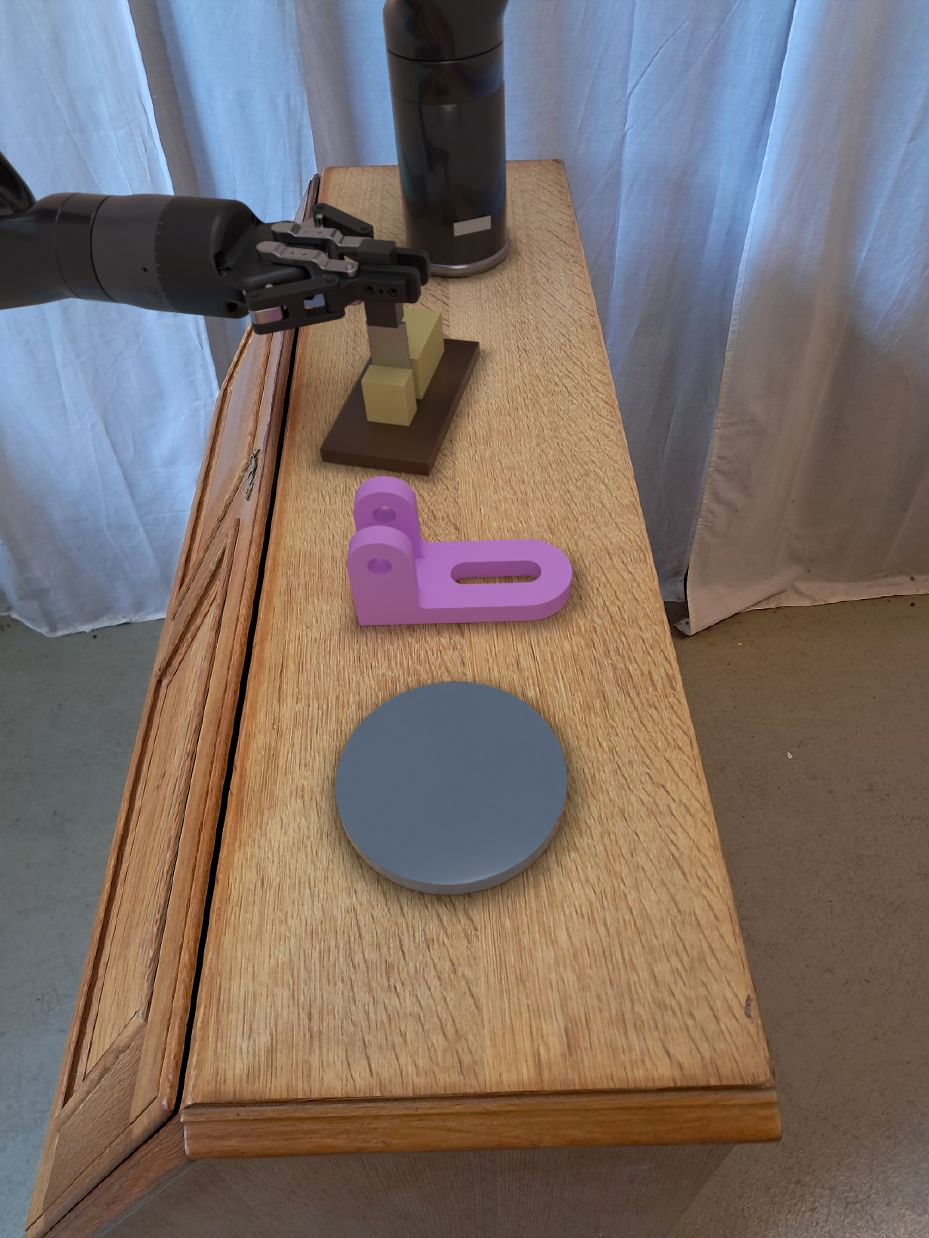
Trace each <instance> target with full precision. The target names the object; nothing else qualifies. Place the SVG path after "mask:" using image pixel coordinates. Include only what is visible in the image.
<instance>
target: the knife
mask: <svg viewBox="0 0 929 1238" xmlns="http://www.w3.org/2000/svg"><path fill="white" fill-rule="evenodd" d="M396 247H397V242H396V240H389V239H379V238H378V239H377V238H374V239H365V238H364V239H363V240H362V242H361V243H360V245H359V246H358V248H357V250H356V254H357V261H358V265H359V269H360V268H361V266H362V264H363V263H373V264H384V265H398V257H397V249H396ZM363 306H364V313H365V324H366V332H367V338H368V346H369V351H370V352H369V353H370V357H371V359H372V365H378V366H387V367H396V368H405V369H411V361H410V352H409V343H408V334H407V326H406V322H405V321H402V319H403V317H404V310H403V307H404V303H392V302H385V301H384V302H381V301H370V300H364V301H363Z"/></svg>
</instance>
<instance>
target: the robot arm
mask: <svg viewBox="0 0 929 1238" xmlns="http://www.w3.org/2000/svg"><path fill="white" fill-rule="evenodd" d="M509 2H510V0H385V2H384V4H383V8H382V26H383V28H382V29H383V36H384V44H385V54H386V61H387V62H386V63H387V64H386V65H387V74H388V83H389V91H390V100H391V109H392V111H391V112H392V119H393V121H392V122H393V130H394V138H395V146H396V147H395V149H396V158H397V168H398V178H399V187H400V196H401V197H400V198H401V207H402V215H403V217H402V219H403V227H404V236H405V238H404V247H399V246H396V249H397V257H398V265H384V264H373V263H363V264H362V266H361V268H360V269H359V265H358V261H357V254H356V250H357V248H358V246H359V245H360V243H361V242H362V240H363V239H364V238H365V239H375V230H374V226H373V224H370V223H368V222H367V221H364V220H362V219H360V218H358V217H356V216H353V215H352V214H350V213H347V212H345V211H344V210H341V209H339V208H336V207H335V206H333V205H330V204H329V203H326V202H317V203H314V204H312V205H311V206H310V208H311V215H312V217H311V218H308V219H306V220H304V221H303V222H300V223H298V222H296V221H294V220H279V221H273V222H271V221H270V222H265V221H263V220H261V218H259V217H258V216H257V214H255V212H254V211H253V210H252V209H251V208H250V207H249V206H248V205H247V204H246V203H245V202H243V201H241V200H238V199H231V198H216V197H204V196H190V195H189V196H188V195H177V194H176V195H173V194H164V193H163V194H162V193H161V194H160V193H133V194H125V195H123V194H122V195H120V194H119V195H117V194H116V195H115V194H102V193H91V192H90V193H89V192H76V191H75V192H74V191H73V192H71V191H70V192H69V191H65V192H63V191H62V192H55V193H50V194H48V195H45V196H43V197H41V198H40V199H38V200H37V198H36V196H35V194H34V192H33V191H32V189H31V188H30V186H29V185H28V184H27V182H26V180H25V179H24V178H23V177H22V176H21V174H20V173H19V171H18V170H16V168H15V167H14V166H13V164H12V163H11V162H10V161H9V159H8V158H7V156H6V155H5V154H4V153H3V152H2V151H1V150H0V311H4V310H13V309H18V308H24V307H25V308H26V307H32V306H38V305H39V306H40V305H46V304H51V303H54V302H58V301H63V300H68V299H77V300H83V301H89V302H90V301H91V302H99V303H100V302H101V303H110V304H122V305H126V306H128V305H129V306H131V307H136V308H140V309H142V310H143V309H144V310H147V311H148V310H149V311H155V312H162V313H163V312H164V313H172V314H173V313H174V314H183V315H192V316H193V315H194V316H203V317H213V318H223V319H232V320H233V319H234V320H238V319H239V320H240V319H243V318H245V317H247V316H249V319H250V322H251V325H252V330H253V333H254V334H255V335H258V336H263V335H270V334H274V333H278V332H284V331H290V330H294V329H298V328H304V327H308V326H313V325H318V324H322V323H323V324H324V323H328V322H332V321H337V320H341V319H343V318H344V317H345V316H346V310H345V309H346V308H347V307H348V306H351V307H352V306H353V307H355V306H359V305H362V304H364V300H370V301H381V302H384V301H385V302H392V303H403V304H409V305H414V304H417V303H418V302H419V300H420V297H421V296H422V287H424V286H426V285H427V284H428V283H429V281H430V279H431V276H432V275H435V276H440V277H441V276H442V277H462V276H470V275H475V274H479V273H482V272H484V271H485V272H486V271H487V270H490V269H491V268H493V267H496V266H497V265H499V264H500V263H501V262H502V261H503V260H504V259H505V258H506V256H507V255H508V252H509V235H508V217H507V216H508V215H507V214H508V210H507V208H508V197H507V193H508V191H507V141H506V139H507V137H506V135H507V134H506V85H505V84H506V81H505V38H504V36H505V35H504V34H505V32H504V31H505V30H504V29H505V27H504V26H505V24H504V22H505V21H504V20H505V14H506V11H507V8H508V5H509ZM346 258H347V259H349V260H346ZM350 260H351V261H350Z"/></svg>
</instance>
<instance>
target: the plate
mask: <svg viewBox="0 0 929 1238" xmlns="http://www.w3.org/2000/svg"><path fill="white" fill-rule="evenodd" d="M568 783H569V782H568V767H567V761H566V756H565V754H564V751H563V748H562V745H561V743H560V740H559V739H558V737H557V735H556V733H555V732H554V730H553V729H552V727H551V725H550V724H549V723H548V721H546V719H545V718H544V717H543V716H542V714H540V713H539V712H538V711H537V710H536V709H534V708H533V707H532V706H531V705H530V704H528V703H527V702H526V701H524V700H523V699H521V698H520V697H518V696H516V695H514V694H512V693H510V692H508V691H506V690H503V689H500V688H497V687H495V686H491V685H487V684H483V683H478V682H471V681H442V682H433V683H429V684H428V683H427V684H423V685H421V686H417V687H414V688H411V689H409V690H406V691H403V692H401V693H398V694H397V695H395V696H393V697H391V698H390V699H387V700H386V701H384V702H383V703H382V704H381V705H379V706H378V707H376V708H375V709H374V710H372V711H371V712H370V713H369V714H367V716H366V717H365V718H364V719H363V720H362V721H361V722H360V723H359V725H358V726H357V727H356V728H355V729H354V731H353V732H352V734H351V735H350V737H349V739H348V740H347V742H346V743H345V746H344V748H343V750H342V752H341V755H340V758H339V761H338V764H337V769H336V775H335V789H334V791H335V800H336V807H337V810H338V814H339V818H340V820H341V824H342V827H343V829H344V832H345V834H346V837H347V838H348V840H349V842H350V844H351V845H352V847H353V848H354V850H355V851H356V853H357V854H358V855H359V856H360V858H361V859H362V860H363V861H364V862H365V863H366V864H367V865H368V866H369V867H370V868H371V869H372V870H374V871H375V872H377V873H378V874H379V875H381V877H384V878H385V879H387V880H389V881H391V883H392V882H393V883H395V884H397V885H399V886H401V887H404V888H406V889H411V890H413V891H415V892H416V891H417V892H420V893H427V894H430V895H431V894H432V895H443V896H445V895H447V896H454V895H465V894H472V893H477V892H481V891H485V890H488V889H490V888H493V887H496V886H499V885H502V884H503V883H505V882H507V881H508V880H511V879H513V878H515V877H516V876H518V875H519V874H520V873H522V872H523V871H525V870H526V869H528V868H529V867H530V866H532V864H534V862H535V861H536V860H538V859H539V858H540V857H541V856H542V854H543V853H544V852H545V851H546V849H547V848H548V847H549V846H550V844H551V842H552V841H553V839H554V838H555V835H557V833H558V830H559V827H560V826H561V823H562V820H563V817H564V814H565V810H566V806H567V805H566V804H567V798H568V786H569V785H568Z"/></svg>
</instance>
